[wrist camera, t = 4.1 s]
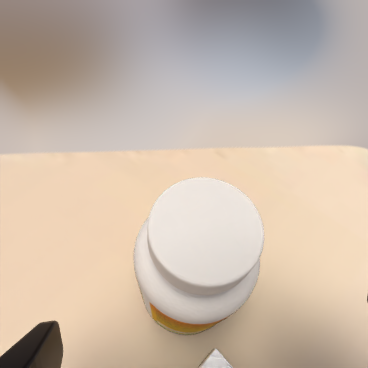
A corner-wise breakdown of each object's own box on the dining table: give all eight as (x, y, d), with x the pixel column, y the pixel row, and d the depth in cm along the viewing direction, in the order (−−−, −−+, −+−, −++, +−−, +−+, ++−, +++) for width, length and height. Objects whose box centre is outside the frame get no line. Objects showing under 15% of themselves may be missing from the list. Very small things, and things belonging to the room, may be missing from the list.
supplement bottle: (245, 300, 17) (321, 249, 9) (172, 357, 15) (185, 356, 7) (195, 231, 20) (221, 140, 11) (126, 273, 18) (97, 201, 9)
